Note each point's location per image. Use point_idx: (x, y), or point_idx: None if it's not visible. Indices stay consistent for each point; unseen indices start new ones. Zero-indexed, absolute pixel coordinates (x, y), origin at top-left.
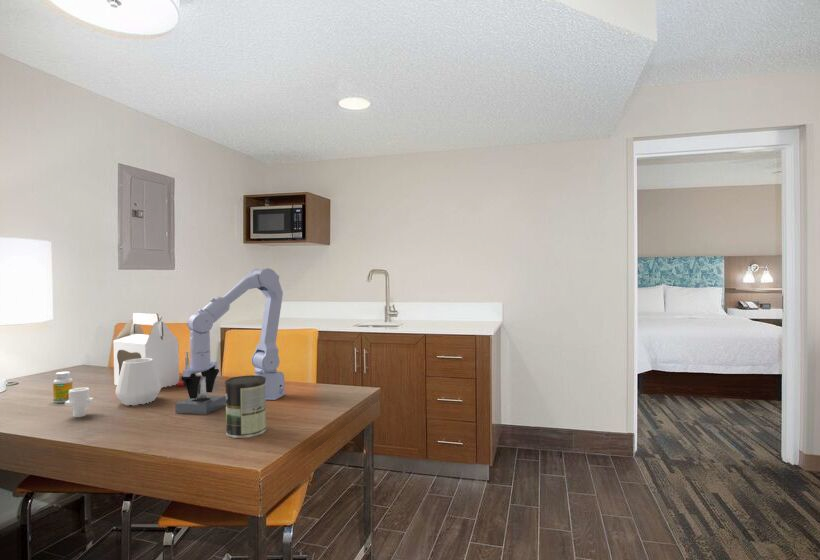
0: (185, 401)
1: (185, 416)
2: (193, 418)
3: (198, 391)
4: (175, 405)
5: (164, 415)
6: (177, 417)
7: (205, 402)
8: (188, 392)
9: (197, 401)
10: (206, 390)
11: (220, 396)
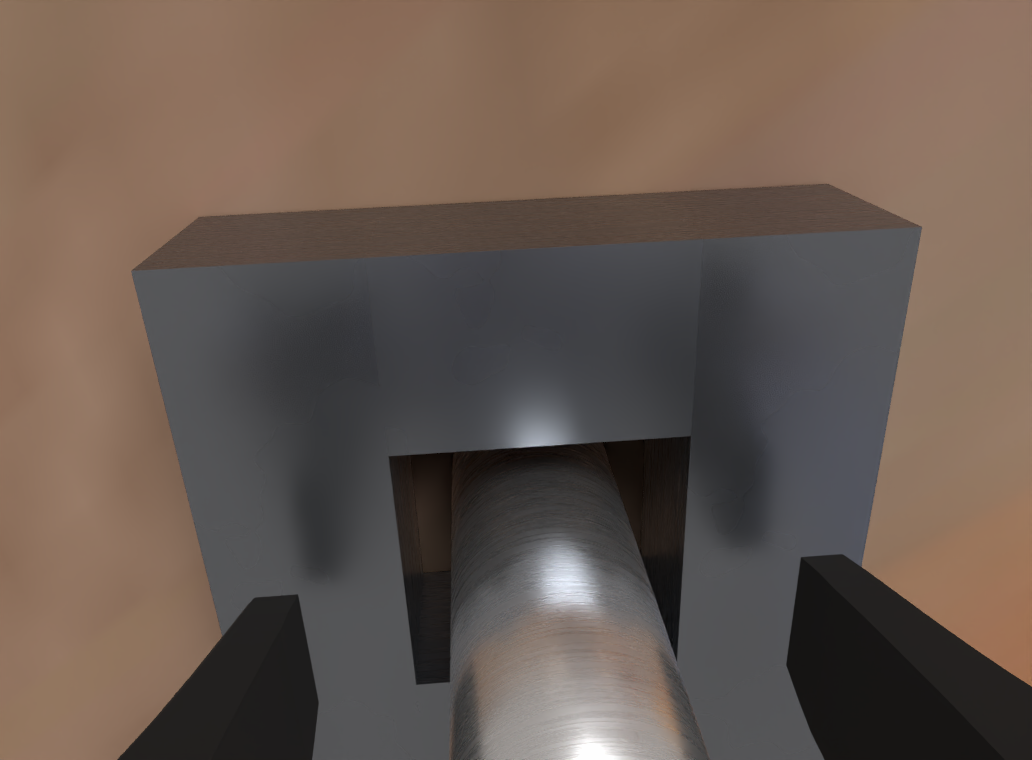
0: (340, 379)
1: (124, 500)
2: (97, 654)
3: (449, 733)
4: (148, 263)
5: (8, 109)
6: (29, 424)
7: (385, 739)
8: (183, 693)
9: (453, 549)
10: (811, 615)
11: (789, 721)
